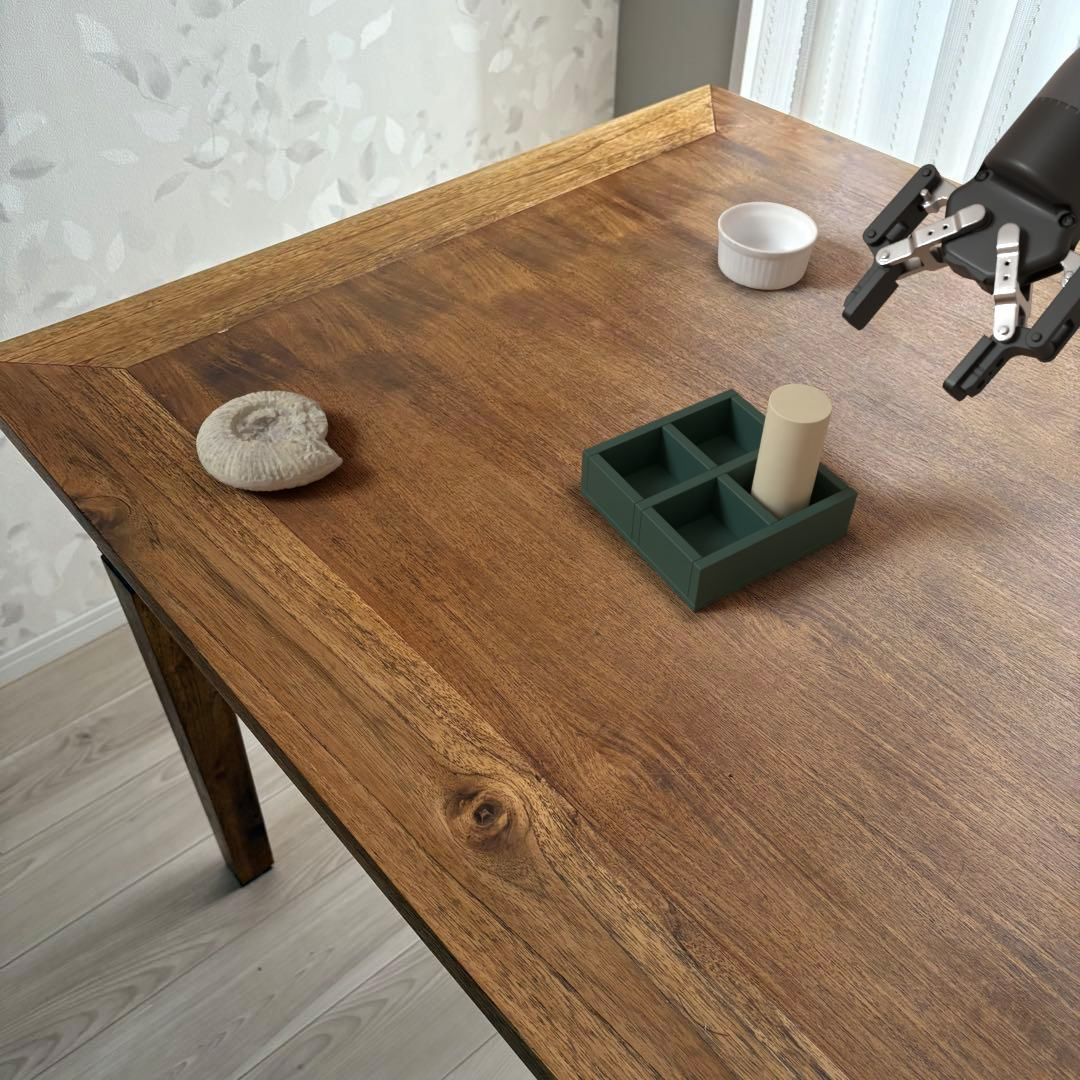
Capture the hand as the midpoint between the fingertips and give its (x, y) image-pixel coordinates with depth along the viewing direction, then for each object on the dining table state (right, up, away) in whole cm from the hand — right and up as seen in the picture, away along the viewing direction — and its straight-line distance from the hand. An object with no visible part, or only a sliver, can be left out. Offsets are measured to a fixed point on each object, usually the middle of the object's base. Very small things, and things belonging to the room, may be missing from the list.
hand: (898, 358), depth 68 cm
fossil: (-42, -5, +15) cm, 45 cm away
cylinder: (-6, -9, +9) cm, 14 cm away
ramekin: (-2, +14, +33) cm, 36 cm away
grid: (-10, -9, +11) cm, 17 cm away
